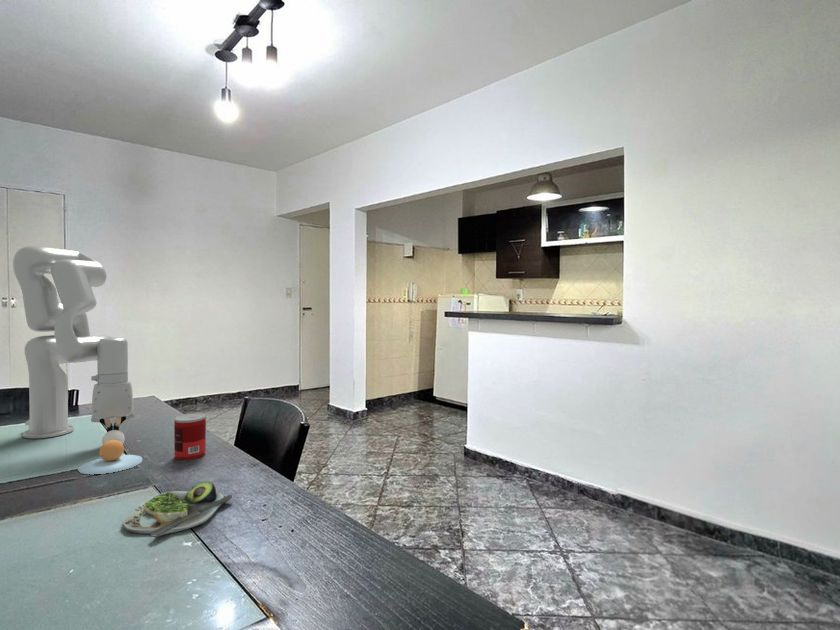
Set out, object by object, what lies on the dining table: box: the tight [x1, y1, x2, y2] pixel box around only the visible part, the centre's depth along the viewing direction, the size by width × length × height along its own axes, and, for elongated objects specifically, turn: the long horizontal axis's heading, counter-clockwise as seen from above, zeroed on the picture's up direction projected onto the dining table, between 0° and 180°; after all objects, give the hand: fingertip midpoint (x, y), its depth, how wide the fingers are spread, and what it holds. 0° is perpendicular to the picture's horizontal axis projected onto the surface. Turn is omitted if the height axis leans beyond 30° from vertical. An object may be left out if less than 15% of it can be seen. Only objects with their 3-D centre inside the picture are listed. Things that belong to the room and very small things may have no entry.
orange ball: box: [98, 440, 125, 461], centre depth 120 cm, size 6×6×6 cm
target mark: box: [77, 454, 143, 476], centre depth 117 cm, size 14×14×1 cm
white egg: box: [101, 429, 126, 445], centre depth 129 cm, size 6×6×6 cm
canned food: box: [173, 412, 207, 461], centre depth 125 cm, size 8×8×11 cm
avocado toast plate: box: [121, 481, 233, 538], centre depth 90 cm, size 19×18×5 cm
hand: (113, 438), depth 134 cm, fingers closed
